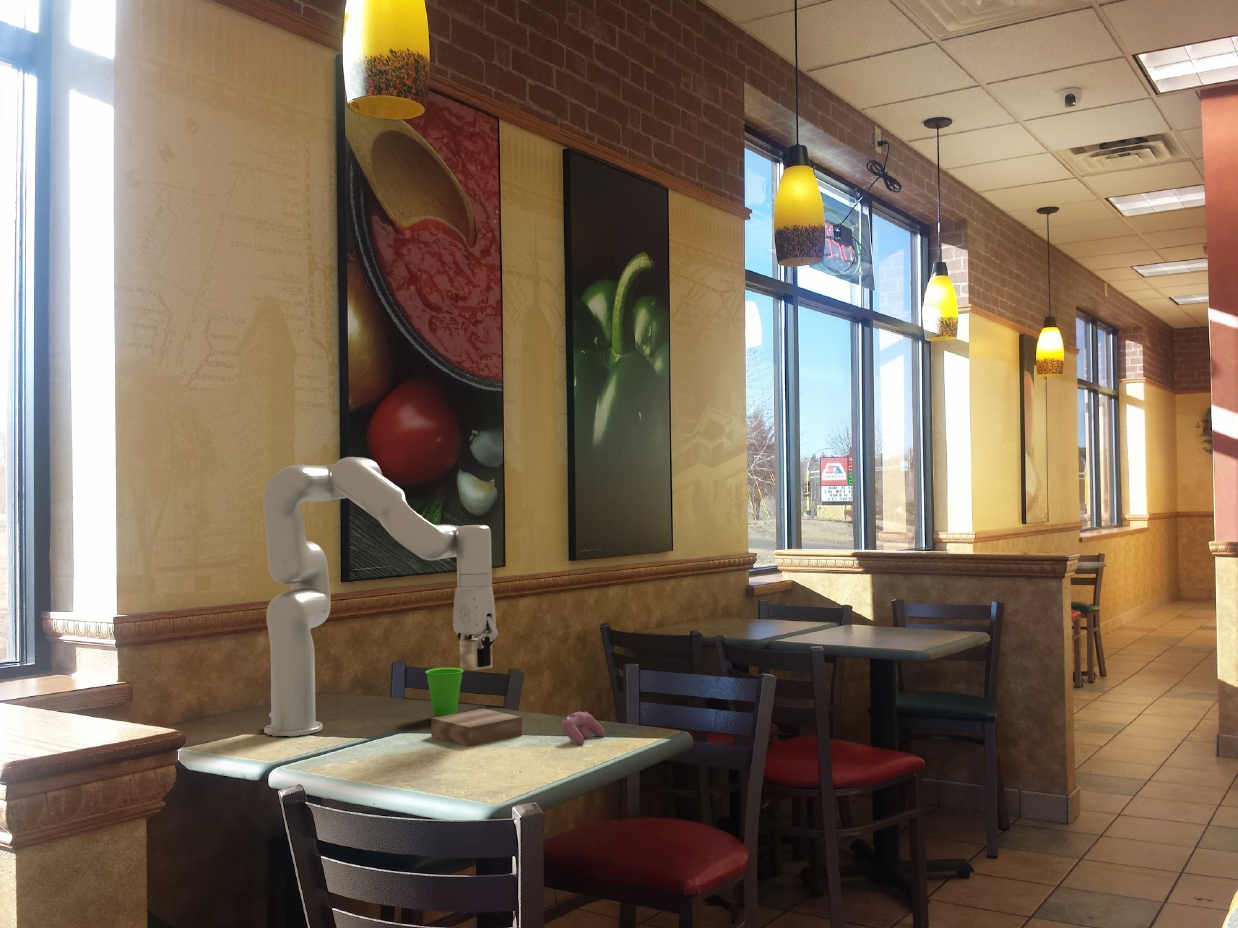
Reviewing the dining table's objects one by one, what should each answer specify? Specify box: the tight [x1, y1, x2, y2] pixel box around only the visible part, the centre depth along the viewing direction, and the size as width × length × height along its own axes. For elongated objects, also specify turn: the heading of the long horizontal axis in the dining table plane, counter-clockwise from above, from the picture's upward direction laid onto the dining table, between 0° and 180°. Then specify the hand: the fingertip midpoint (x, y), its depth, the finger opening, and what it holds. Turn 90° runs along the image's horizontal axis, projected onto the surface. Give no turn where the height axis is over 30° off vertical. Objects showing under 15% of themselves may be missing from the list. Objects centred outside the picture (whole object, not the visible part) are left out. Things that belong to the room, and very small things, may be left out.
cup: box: [424, 667, 465, 718], centre depth 261 cm, size 9×9×11 cm
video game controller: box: [560, 711, 606, 746], centre depth 235 cm, size 10×5×7 cm, turn 150°
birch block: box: [459, 637, 493, 671], centre depth 241 cm, size 5×5×6 cm
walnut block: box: [430, 708, 523, 748], centre depth 240 cm, size 14×14×4 cm
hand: (476, 664), depth 241 cm, fingers closed on birch block, 4 cm apart
